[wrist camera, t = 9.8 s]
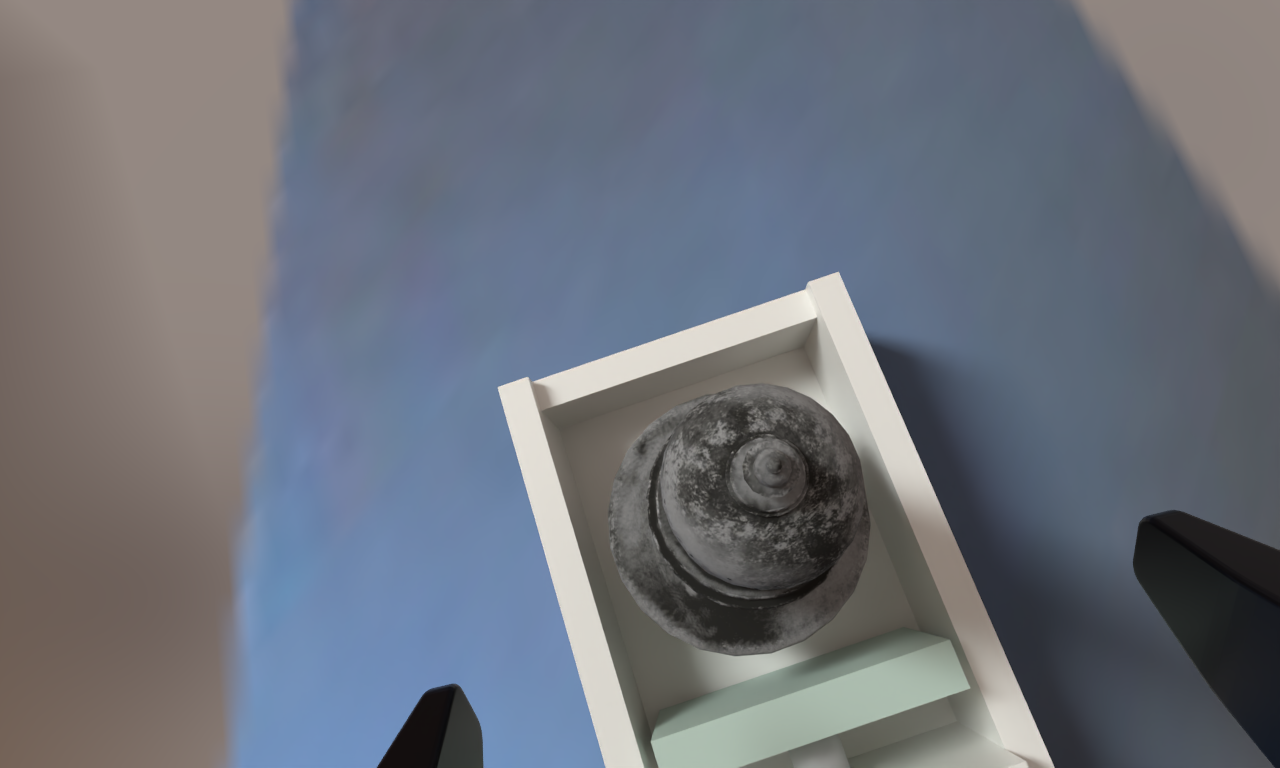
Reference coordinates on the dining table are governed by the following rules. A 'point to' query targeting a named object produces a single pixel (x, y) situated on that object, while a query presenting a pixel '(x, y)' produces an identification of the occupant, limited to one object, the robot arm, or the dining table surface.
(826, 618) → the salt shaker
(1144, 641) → the dining table surface
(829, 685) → the bar
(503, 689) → the dining table surface
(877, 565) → the box
